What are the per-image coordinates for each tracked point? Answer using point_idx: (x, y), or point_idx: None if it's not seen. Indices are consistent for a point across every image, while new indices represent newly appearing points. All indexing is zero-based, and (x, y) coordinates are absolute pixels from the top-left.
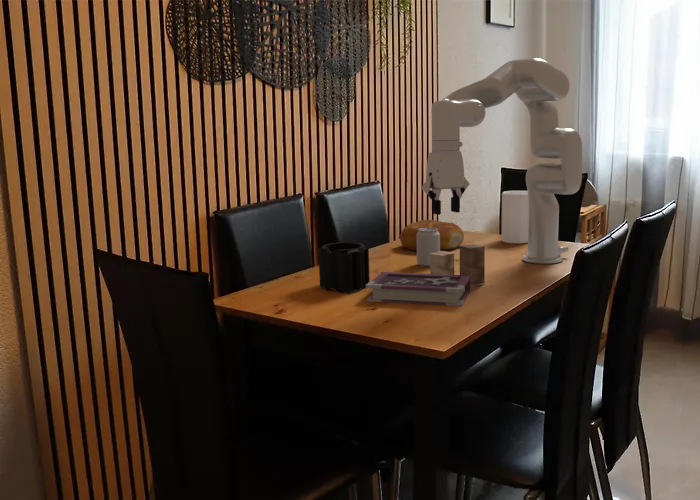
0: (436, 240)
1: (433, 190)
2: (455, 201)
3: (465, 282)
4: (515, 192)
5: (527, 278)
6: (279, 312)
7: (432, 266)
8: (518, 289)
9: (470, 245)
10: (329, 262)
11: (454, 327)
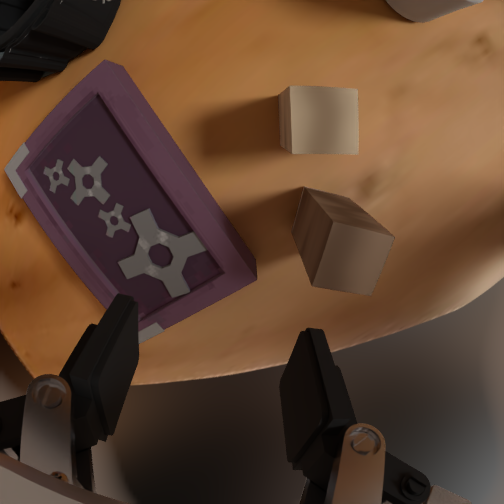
0: (451, 3)
1: (39, 468)
2: (294, 432)
3: (187, 316)
4: None
5: (428, 275)
6: None
7: (283, 101)
8: (336, 319)
9: (361, 249)
10: None
11: None
